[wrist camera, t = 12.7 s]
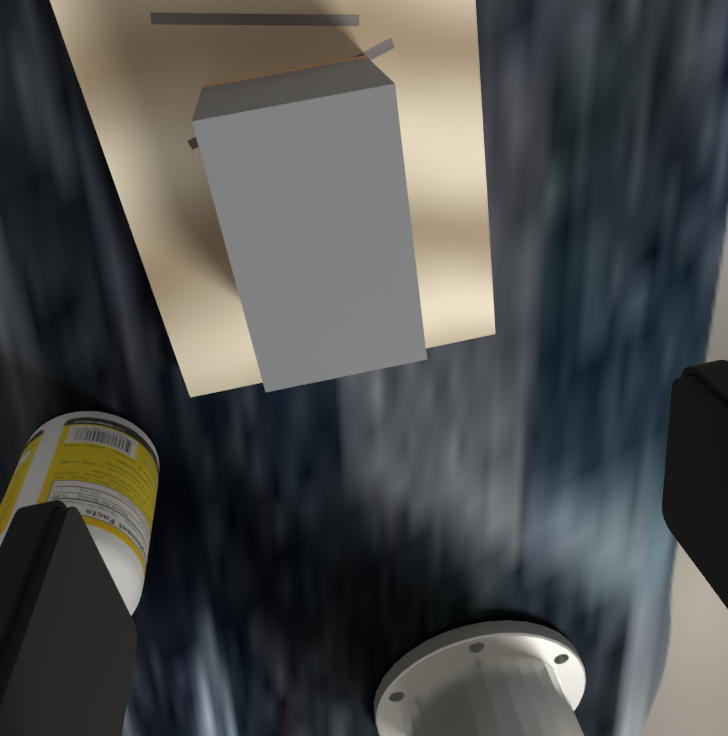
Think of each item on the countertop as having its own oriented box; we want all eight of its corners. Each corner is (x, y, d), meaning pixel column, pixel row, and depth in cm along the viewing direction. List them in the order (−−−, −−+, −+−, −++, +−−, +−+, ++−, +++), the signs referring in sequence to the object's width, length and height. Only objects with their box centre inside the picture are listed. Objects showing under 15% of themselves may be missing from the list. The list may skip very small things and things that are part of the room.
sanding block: (397, 290, 25) (426, 359, 21) (262, 316, 25) (265, 392, 21) (365, 55, 21) (394, 83, 17) (202, 85, 21) (191, 121, 17)
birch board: (484, 316, 28) (495, 333, 27) (193, 376, 28) (190, 397, 27) (428, -491, 16) (444, -528, 15) (-79, -410, 16) (-106, -441, 15)
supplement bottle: (67, 522, 31) (1, 736, 22) (-1, 430, 28) (-105, 637, 20) (183, 485, 31) (159, 687, 22) (127, 389, 28) (76, 579, 19)
